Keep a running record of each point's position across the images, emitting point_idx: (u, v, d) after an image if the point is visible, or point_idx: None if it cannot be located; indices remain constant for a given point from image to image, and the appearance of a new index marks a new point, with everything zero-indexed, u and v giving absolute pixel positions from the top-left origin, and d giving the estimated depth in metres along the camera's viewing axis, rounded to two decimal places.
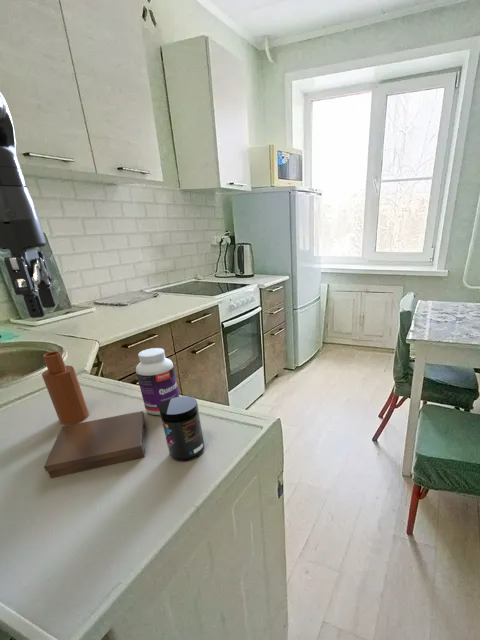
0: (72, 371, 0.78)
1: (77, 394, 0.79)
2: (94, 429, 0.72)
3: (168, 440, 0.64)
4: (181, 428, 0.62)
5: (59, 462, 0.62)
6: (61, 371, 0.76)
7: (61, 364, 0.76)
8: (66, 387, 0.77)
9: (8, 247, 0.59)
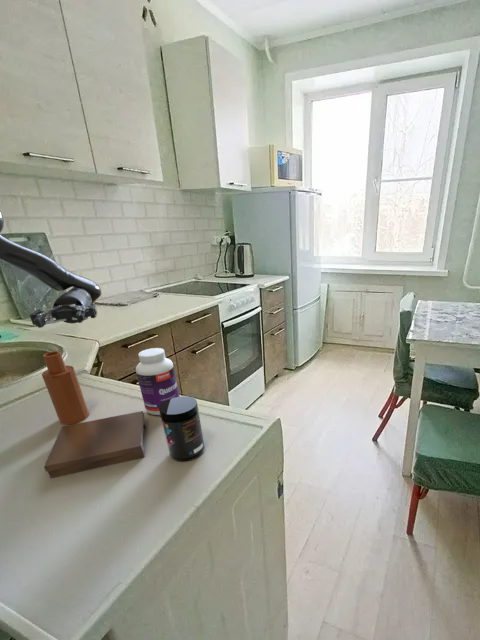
0: (72, 371, 0.78)
1: (77, 394, 0.79)
2: (94, 429, 0.72)
3: (168, 440, 0.64)
4: (181, 428, 0.62)
5: (59, 462, 0.62)
6: (61, 371, 0.76)
7: (61, 364, 0.76)
8: (66, 387, 0.77)
9: (83, 304, 0.94)
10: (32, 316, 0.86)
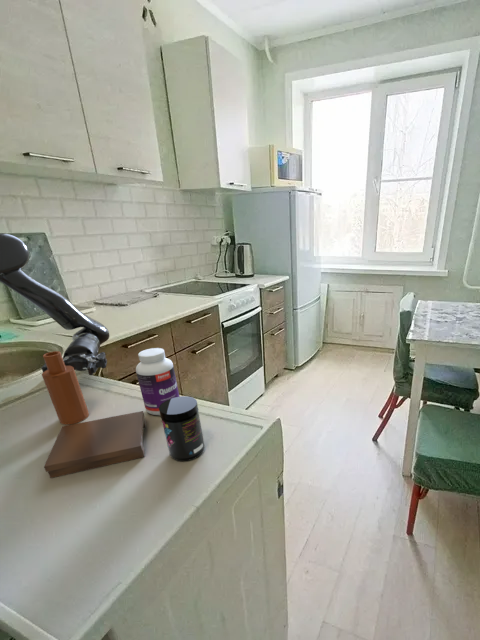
0: (72, 371, 0.78)
1: (77, 394, 0.79)
2: (94, 429, 0.72)
3: (168, 440, 0.64)
4: (181, 428, 0.62)
5: (59, 462, 0.62)
6: (61, 371, 0.76)
7: (61, 364, 0.76)
8: (66, 387, 0.77)
9: (92, 352, 0.96)
10: (44, 369, 0.87)
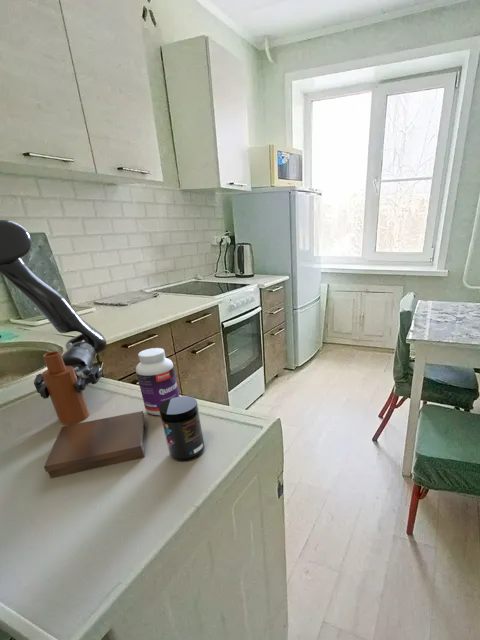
0: (72, 371, 0.78)
1: (77, 394, 0.79)
2: (94, 429, 0.72)
3: (168, 440, 0.64)
4: (181, 428, 0.62)
5: (59, 462, 0.62)
6: (61, 371, 0.76)
7: (61, 364, 0.76)
8: (66, 387, 0.77)
9: (87, 364, 0.88)
10: (37, 384, 0.79)
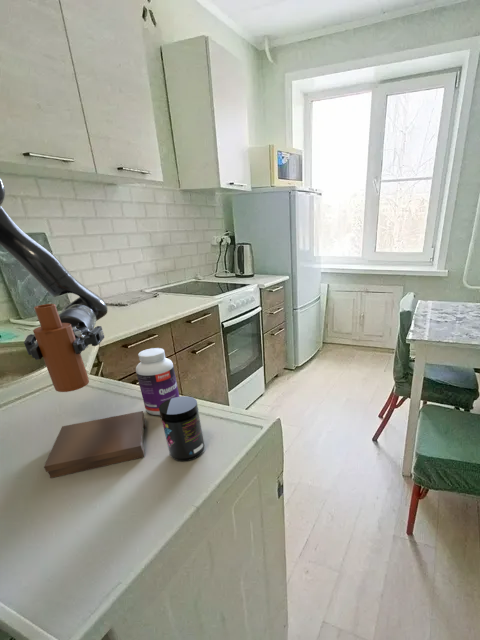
0: (69, 328, 0.66)
1: (75, 356, 0.67)
2: (94, 429, 0.72)
3: (168, 440, 0.64)
4: (181, 428, 0.62)
5: (59, 462, 0.62)
6: (56, 327, 0.64)
7: (56, 319, 0.64)
8: (62, 347, 0.65)
9: (86, 326, 0.76)
10: (28, 344, 0.67)
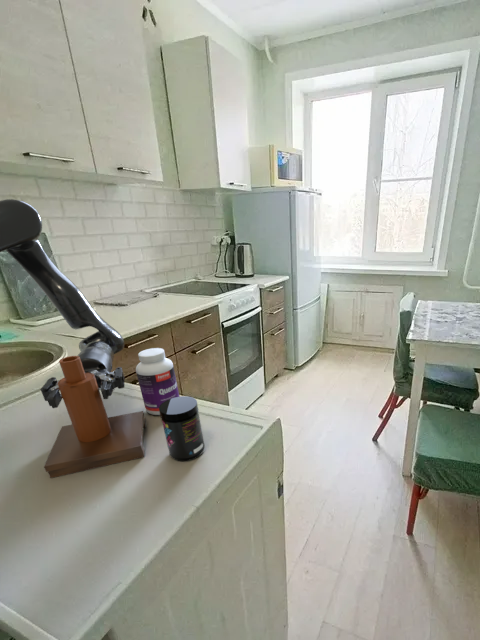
0: (93, 379, 0.65)
1: (99, 407, 0.67)
2: None
3: (168, 440, 0.64)
4: (181, 428, 0.62)
5: (59, 462, 0.62)
6: (80, 379, 0.64)
7: (80, 371, 0.64)
8: (86, 399, 0.65)
9: (106, 367, 0.75)
10: (44, 391, 0.67)
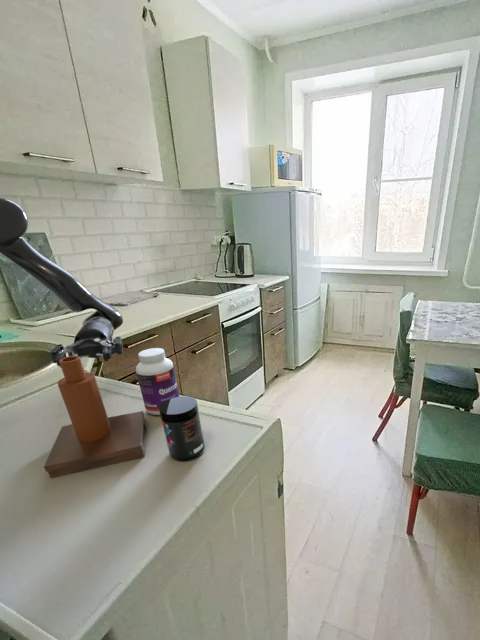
0: (93, 379, 0.65)
1: (99, 407, 0.67)
2: None
3: (168, 440, 0.64)
4: (181, 428, 0.62)
5: (59, 462, 0.62)
6: (80, 379, 0.64)
7: (80, 371, 0.64)
8: (86, 399, 0.65)
9: (107, 337, 0.85)
10: (53, 354, 0.76)
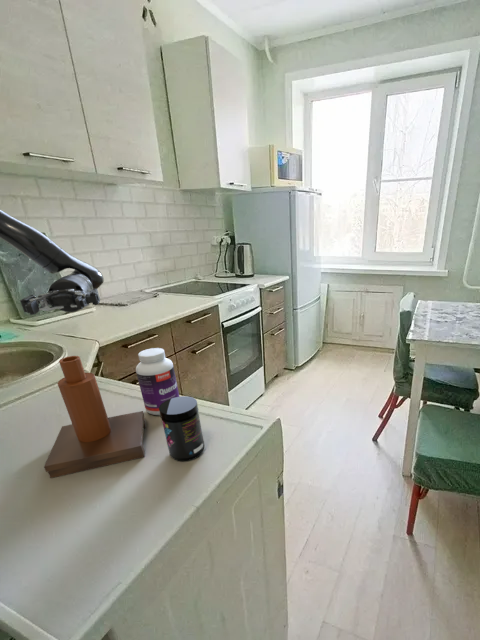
0: (93, 379, 0.65)
1: (99, 407, 0.67)
2: None
3: (168, 440, 0.64)
4: (181, 428, 0.62)
5: (59, 462, 0.62)
6: (80, 379, 0.64)
7: (80, 371, 0.64)
8: (86, 399, 0.65)
9: (83, 290, 0.81)
10: (23, 302, 0.72)
